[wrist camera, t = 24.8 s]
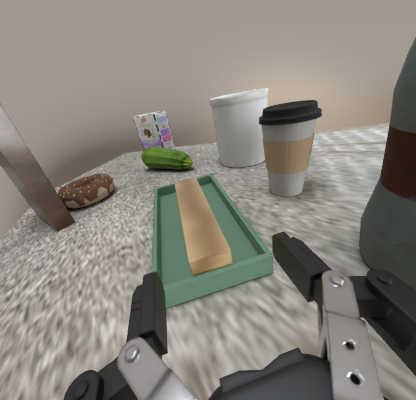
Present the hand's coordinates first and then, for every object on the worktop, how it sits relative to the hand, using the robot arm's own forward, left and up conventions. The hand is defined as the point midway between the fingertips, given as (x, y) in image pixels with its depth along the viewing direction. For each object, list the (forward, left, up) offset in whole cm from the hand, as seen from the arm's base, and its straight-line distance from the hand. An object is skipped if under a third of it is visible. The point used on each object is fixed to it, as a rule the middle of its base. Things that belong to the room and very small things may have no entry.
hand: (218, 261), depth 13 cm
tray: (+11, +14, -9) cm, 20 cm away
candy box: (+41, +58, -9) cm, 72 cm away
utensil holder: (+42, +21, -9) cm, 48 cm away
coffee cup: (+27, +4, -9) cm, 29 cm away
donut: (+9, +50, -9) cm, 51 cm away
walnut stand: (-1, +48, -9) cm, 49 cm away
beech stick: (+10, +12, -8) cm, 18 cm away
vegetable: (+31, +42, -9) cm, 53 cm away
